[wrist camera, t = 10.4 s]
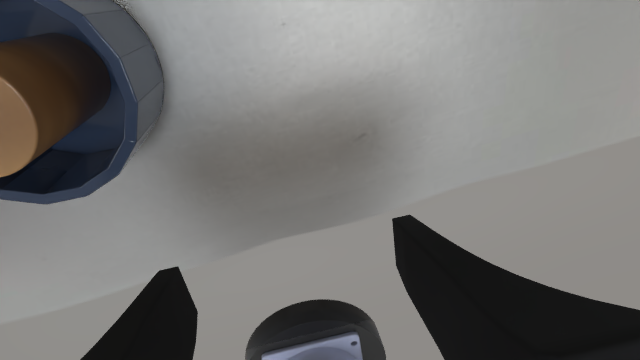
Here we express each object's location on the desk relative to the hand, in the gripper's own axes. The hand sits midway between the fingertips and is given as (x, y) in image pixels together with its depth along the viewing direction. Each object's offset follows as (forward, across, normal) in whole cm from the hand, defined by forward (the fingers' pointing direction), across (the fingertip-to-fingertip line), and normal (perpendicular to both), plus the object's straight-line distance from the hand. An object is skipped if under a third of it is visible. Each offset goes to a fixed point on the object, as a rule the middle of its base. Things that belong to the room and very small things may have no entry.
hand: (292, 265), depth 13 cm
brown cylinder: (+10, +9, -6) cm, 15 cm away
